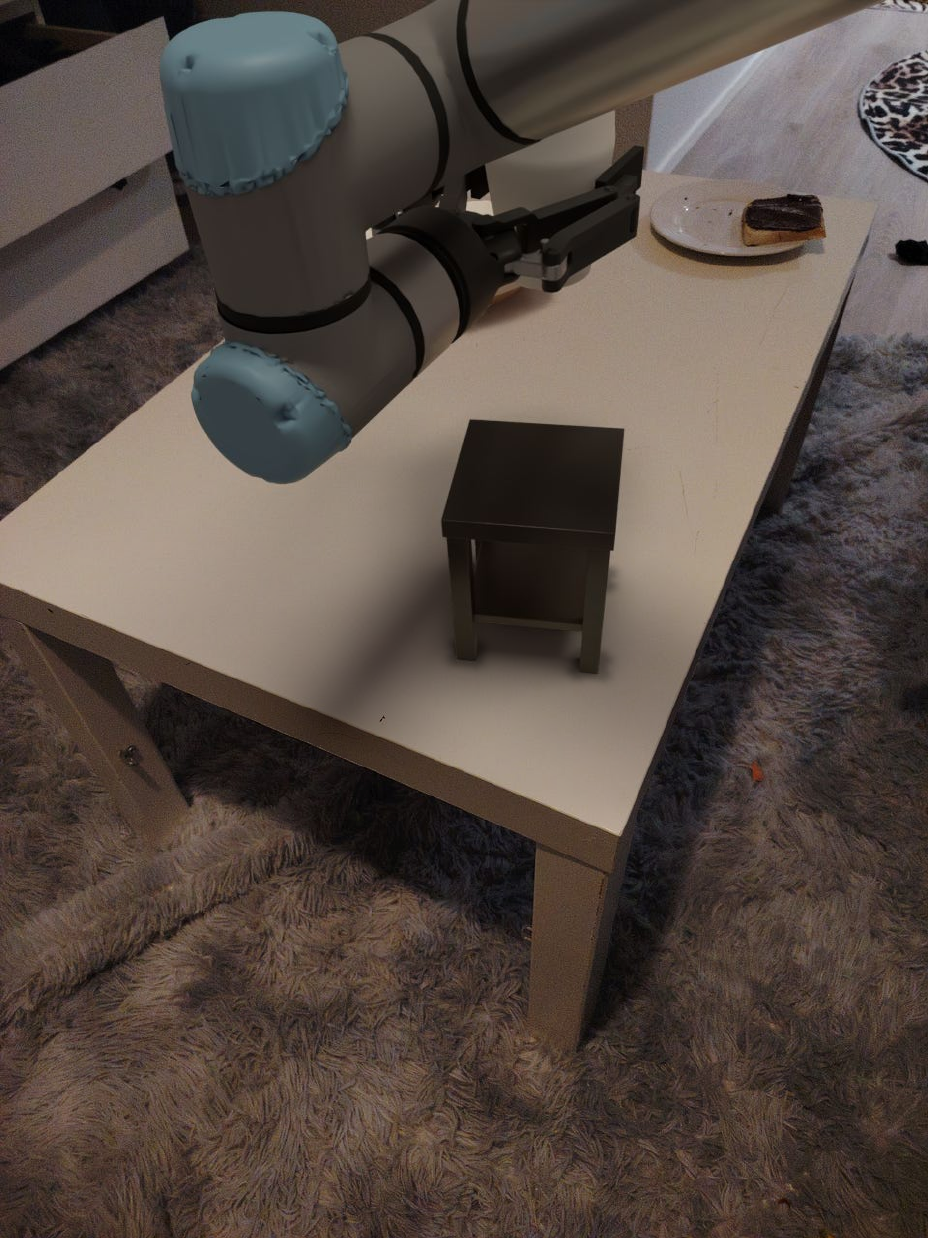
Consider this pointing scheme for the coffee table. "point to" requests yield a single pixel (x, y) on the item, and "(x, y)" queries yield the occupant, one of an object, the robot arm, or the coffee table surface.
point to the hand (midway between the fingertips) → (575, 156)
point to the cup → (553, 173)
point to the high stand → (533, 529)
